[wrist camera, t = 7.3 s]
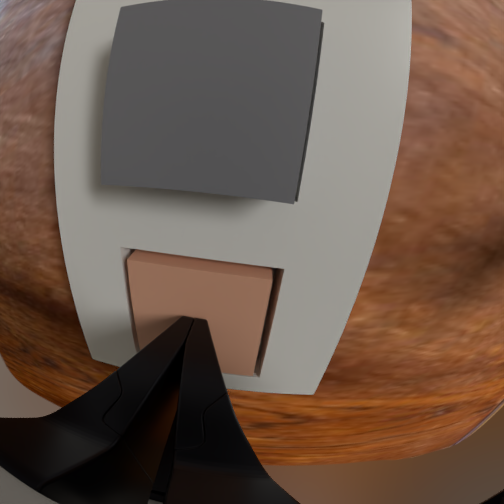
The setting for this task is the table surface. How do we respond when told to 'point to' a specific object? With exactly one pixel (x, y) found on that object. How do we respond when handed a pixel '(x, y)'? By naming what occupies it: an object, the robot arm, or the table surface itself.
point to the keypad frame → (240, 208)
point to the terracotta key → (202, 302)
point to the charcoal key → (210, 96)
